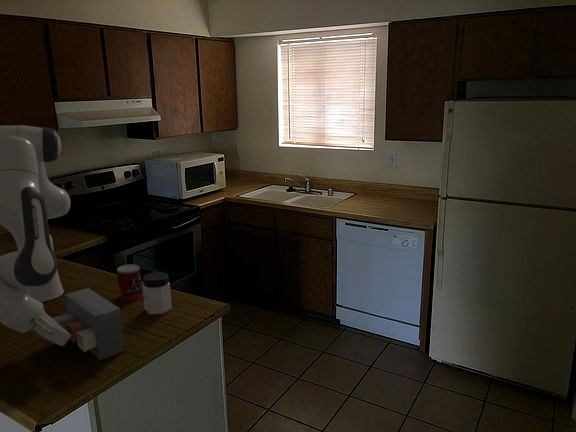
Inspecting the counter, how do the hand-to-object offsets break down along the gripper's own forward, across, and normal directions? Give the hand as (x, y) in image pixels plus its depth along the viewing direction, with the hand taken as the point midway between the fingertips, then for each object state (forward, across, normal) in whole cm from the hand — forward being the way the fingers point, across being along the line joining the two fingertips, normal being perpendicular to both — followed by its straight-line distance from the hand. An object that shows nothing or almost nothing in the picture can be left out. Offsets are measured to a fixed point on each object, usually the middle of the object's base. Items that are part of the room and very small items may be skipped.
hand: (68, 336), depth 137 cm
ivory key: (+4, -7, -2) cm, 9 cm away
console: (+9, 0, -2) cm, 9 cm away
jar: (+26, +7, -19) cm, 33 cm away
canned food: (+25, +24, -18) cm, 39 cm away
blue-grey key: (+2, +7, 0) cm, 7 cm away
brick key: (+4, 0, -2) cm, 5 cm away
